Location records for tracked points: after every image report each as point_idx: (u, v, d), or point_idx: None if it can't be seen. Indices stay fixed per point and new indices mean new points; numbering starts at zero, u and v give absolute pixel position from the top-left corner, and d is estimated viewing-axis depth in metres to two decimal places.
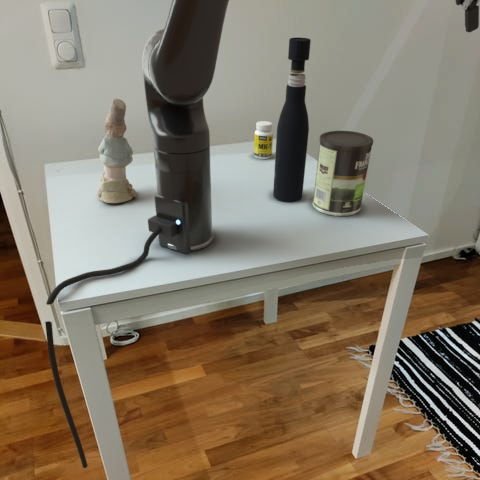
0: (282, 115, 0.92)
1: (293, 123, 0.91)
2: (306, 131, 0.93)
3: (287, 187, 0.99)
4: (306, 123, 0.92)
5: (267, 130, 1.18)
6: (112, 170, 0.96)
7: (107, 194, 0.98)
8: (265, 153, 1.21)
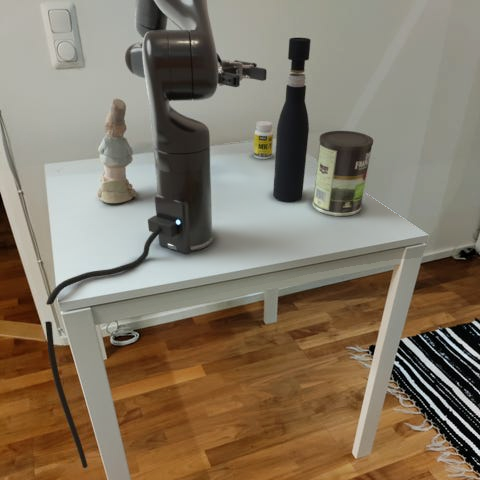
0: (282, 115, 0.92)
1: (293, 123, 0.91)
2: (306, 131, 0.93)
3: (287, 187, 0.99)
4: (306, 123, 0.92)
5: (267, 130, 1.18)
6: (112, 170, 0.96)
7: (107, 194, 0.98)
8: (265, 153, 1.21)
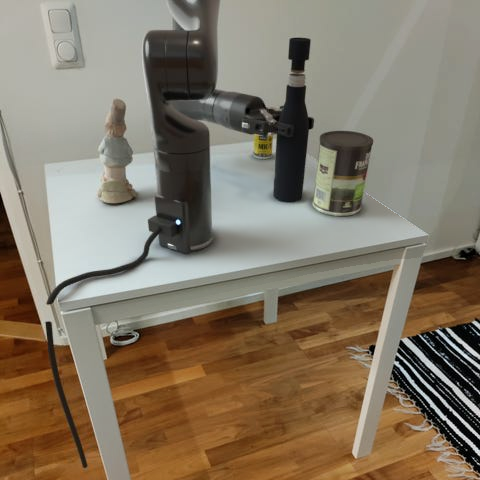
0: (282, 115, 0.92)
1: (294, 123, 0.91)
2: (306, 131, 0.93)
3: (287, 187, 0.99)
4: (306, 123, 0.92)
5: None
6: (112, 170, 0.96)
7: (107, 194, 0.98)
8: (265, 153, 1.21)
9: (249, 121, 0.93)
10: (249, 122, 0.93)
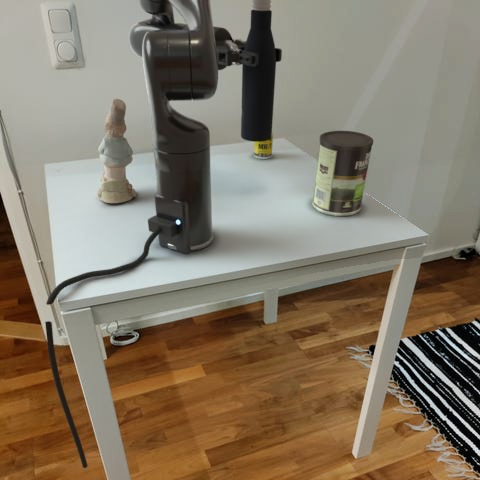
0: (247, 43, 0.87)
1: (259, 51, 0.86)
2: (273, 61, 0.88)
3: (254, 125, 0.94)
4: (272, 52, 0.87)
5: None
6: (112, 170, 0.96)
7: (107, 194, 0.98)
8: (265, 153, 1.21)
9: None
10: None
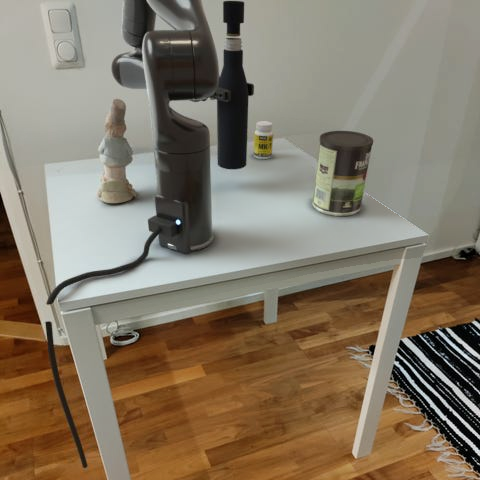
0: (220, 80, 0.93)
1: (231, 88, 0.92)
2: (245, 96, 0.94)
3: (229, 154, 1.00)
4: (244, 88, 0.93)
5: (267, 130, 1.18)
6: (112, 170, 0.96)
7: (107, 194, 0.98)
8: (265, 153, 1.21)
9: None
10: None
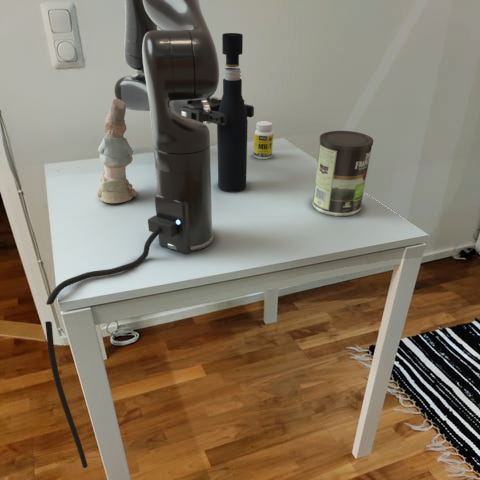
0: (220, 108, 0.96)
1: (231, 115, 0.95)
2: (244, 123, 0.97)
3: (229, 178, 1.03)
4: (243, 115, 0.96)
5: (267, 130, 1.18)
6: (112, 170, 0.96)
7: (107, 194, 0.98)
8: (265, 153, 1.21)
9: (186, 110, 0.96)
10: (186, 111, 0.96)
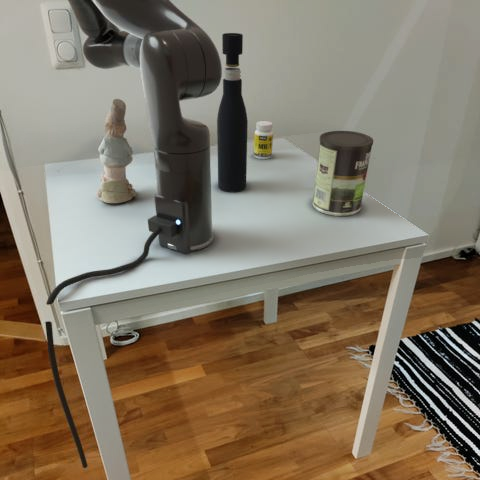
0: (220, 108, 0.96)
1: (231, 115, 0.95)
2: (244, 123, 0.97)
3: (229, 178, 1.03)
4: (243, 115, 0.96)
5: (267, 130, 1.18)
6: (112, 170, 0.96)
7: (107, 194, 0.98)
8: (265, 153, 1.21)
9: None
10: None
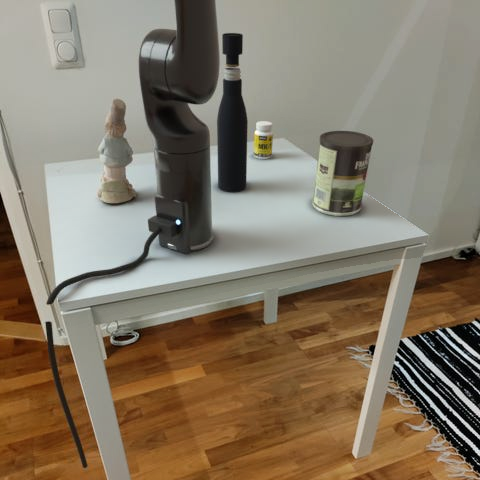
0: (220, 108, 0.96)
1: (231, 115, 0.95)
2: (244, 123, 0.97)
3: (229, 178, 1.03)
4: (243, 115, 0.96)
5: (267, 130, 1.18)
6: (112, 170, 0.96)
7: (107, 194, 0.98)
8: (265, 153, 1.21)
9: None
10: None
